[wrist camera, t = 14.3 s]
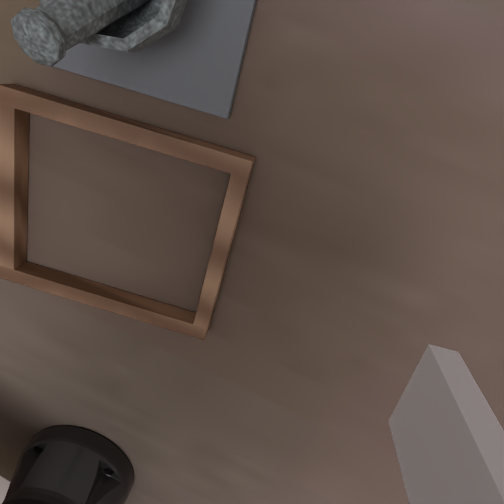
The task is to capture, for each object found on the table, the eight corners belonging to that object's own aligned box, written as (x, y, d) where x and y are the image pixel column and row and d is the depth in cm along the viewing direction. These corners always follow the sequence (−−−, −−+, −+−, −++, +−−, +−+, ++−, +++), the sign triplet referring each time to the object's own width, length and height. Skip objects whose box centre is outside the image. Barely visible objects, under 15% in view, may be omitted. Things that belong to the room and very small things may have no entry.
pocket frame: (208, 328, 42) (204, 340, 40) (13, 269, 42) (-1, 277, 40) (255, 156, 34) (252, 161, 32) (13, 83, 34) (-3, 84, 32)
